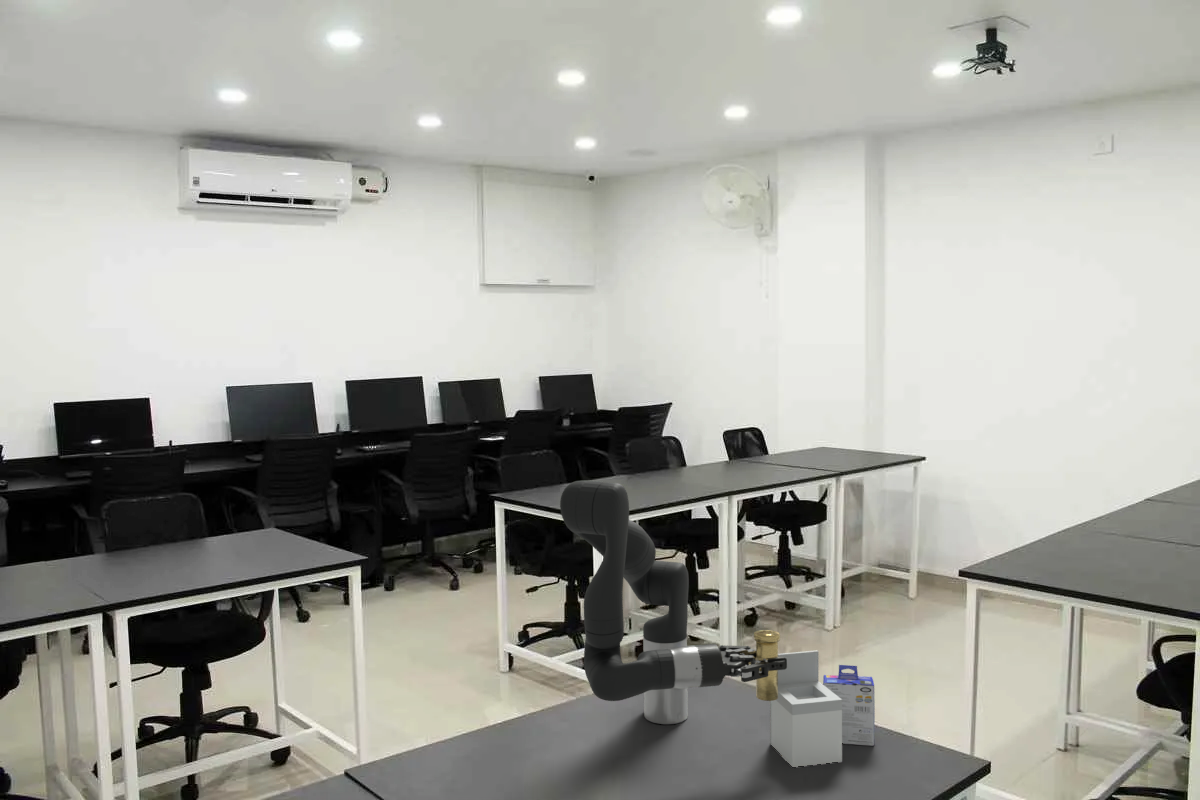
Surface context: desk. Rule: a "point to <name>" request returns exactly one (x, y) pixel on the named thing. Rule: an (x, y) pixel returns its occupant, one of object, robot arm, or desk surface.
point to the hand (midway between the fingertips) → (780, 658)
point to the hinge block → (805, 714)
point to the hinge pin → (767, 649)
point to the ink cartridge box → (854, 705)
